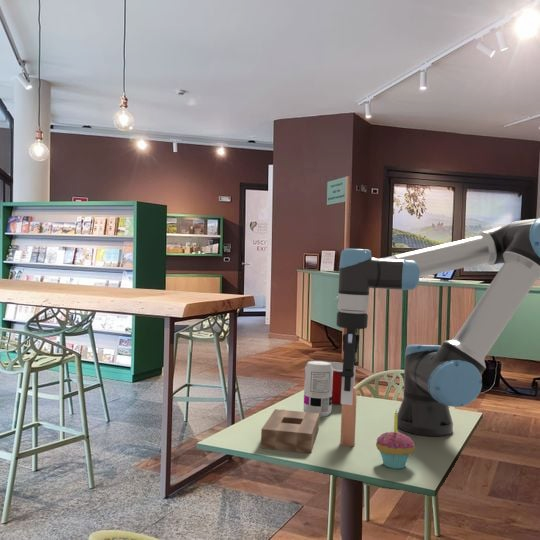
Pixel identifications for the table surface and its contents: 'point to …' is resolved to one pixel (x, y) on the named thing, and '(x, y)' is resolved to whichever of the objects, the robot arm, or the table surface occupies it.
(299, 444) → the hole block
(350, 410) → the dowel pin
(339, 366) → the plastic cup
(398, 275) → the robot arm
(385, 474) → the table surface
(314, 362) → the supplement can
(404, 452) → the cupcake
